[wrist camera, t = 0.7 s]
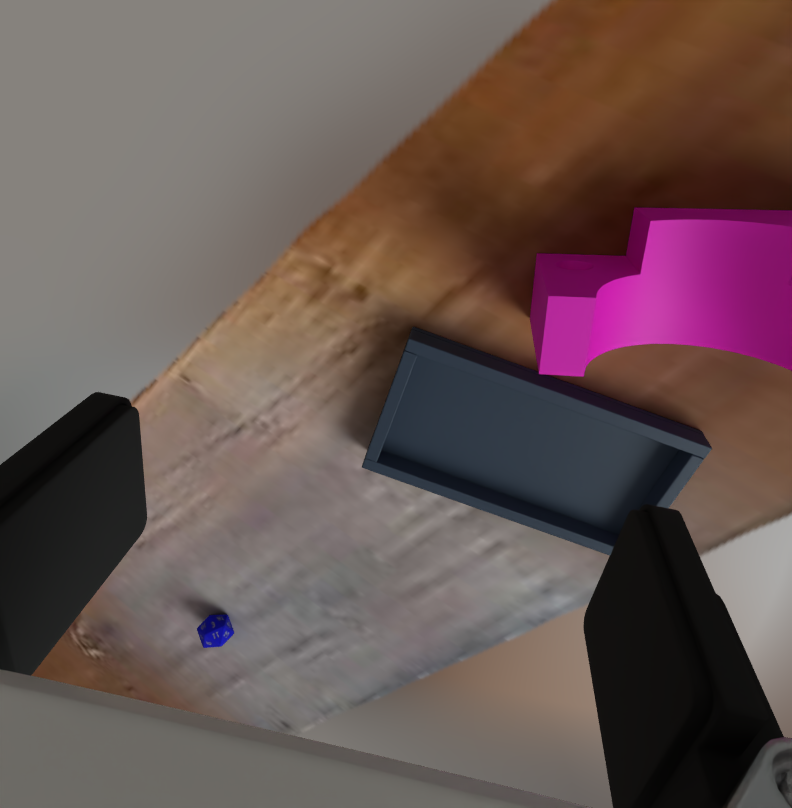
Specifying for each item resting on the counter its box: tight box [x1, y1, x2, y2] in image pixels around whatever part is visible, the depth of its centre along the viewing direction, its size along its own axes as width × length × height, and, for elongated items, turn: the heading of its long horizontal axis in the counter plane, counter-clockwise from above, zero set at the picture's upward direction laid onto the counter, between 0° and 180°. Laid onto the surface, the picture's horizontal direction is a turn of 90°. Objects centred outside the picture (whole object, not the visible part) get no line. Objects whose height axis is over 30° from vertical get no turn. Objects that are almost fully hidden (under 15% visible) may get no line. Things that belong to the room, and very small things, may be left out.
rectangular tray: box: [362, 327, 712, 555], centre depth 37 cm, size 10×19×2 cm, turn 72°
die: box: [197, 614, 234, 648], centre depth 49 cm, size 3×3×3 cm
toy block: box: [530, 207, 792, 377], centre depth 28 cm, size 15×6×8 cm, turn 90°
